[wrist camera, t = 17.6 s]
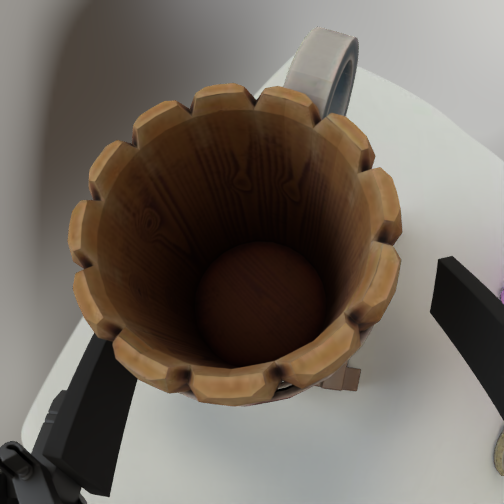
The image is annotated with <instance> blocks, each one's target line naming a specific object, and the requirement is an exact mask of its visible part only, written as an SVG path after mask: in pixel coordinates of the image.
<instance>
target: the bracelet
mask: <svg viewBox="0 0 504 504" xmlns="http://www.w3.org/2000/svg"><path fill="white" fill-rule="evenodd" d="M494 463H495V467H496V469H497V471H498V472H499V473H500V474H501V476H504V430H503V432H502V433H501V435H500V437H499V439H498V441H497V444H496V447H495V452H494Z"/></svg>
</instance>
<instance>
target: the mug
mask: <svg viewBox="0 0 504 504" xmlns="http://www.w3.org/2000/svg"><path fill="white" fill-rule="evenodd" d="M358 50H359V44H358V39H357V38H356V37H352V36H349V35H346V34H342V33H339V32H335V31H331V30H327V29H324V28H320V27H316V28H314V29H313V30H311V31H310V33H309V34H308V35H307V36H306V37H305V38H304V40H303V42H302V43H301V45H300V47H299V48H298V50H297V52H296V54H295V56H294V59H293V61H292V63H291V66H290V68H289V71H288V74H287V77H286V80H285V83H284V86H283V87H280V86H275V87H269V88H265V89H264V91H263V92H262V93H261V95H260V96H259V98H258V99H257V100H256V99H255V98H254V97H253V96H252V95H251V94H250V93H249V92H248V90H247V89H246V88H245V87H243V86H241V85H238V84H235V83H229V84H219V85H213V86H208V87H205V88H203V89H201V90H200V91H198V92H197V93H196V94H195V96H194V99H193V101H192V104H191V107H190V109H189V108H187V107H185V106H184V105H182V104H181V103H179V102H177V101H176V100H175V101H164V102H162V103H160V104H158V105H157V106H155V107H153V108H151V109H149V110H148V111H146V112H145V113H143V114H142V115H140V116H139V117H138V119H137V120H136V122H135V124H134V125H133V136H132V144H131V143H127V142H123V141H119V140H117V141H115V142H113V143H111V144H109V145H108V146H106V147H105V149H104V150H103V151H102V152H101V154H100V155H99V156H98V158H97V159H96V161H95V162H94V164H93V165H92V167H91V168H90V171H89V190H90V192H91V195H92V197H93V200H81V201H80V202H79V203H78V205H77V206H76V207H75V209H74V210H73V211H72V215H71V220H70V225H69V233H68V244H69V247H70V252H71V255H72V259H73V261H74V262H75V263H76V264H78V265H79V266H81V267H82V268H84V270H82V271H79V272H78V273H76V274H75V279H74V284H73V291H74V294H75V297H76V300H77V302H78V305H79V307H80V309H81V311H82V314H83V316H84V318H85V319H86V321H87V322H88V324H89V325H90V327H91V328H92V330H93V331H94V332H95V334H96V335H97V337H98V338H101V339H105V340H109V341H113V349H114V354H115V358H116V359H117V360H118V361H119V362H120V363H121V364H122V365H123V366H124V367H125V368H126V369H127V370H128V371H130V372H131V373H132V374H133V375H134V376H135V377H136V378H138V379H139V380H140V381H143V382H145V383H147V384H149V385H151V386H153V387H156V388H158V389H160V390H162V391H165V392H167V393H177V392H178V393H180V394H183V395H185V396H187V397H190V398H192V399H195V400H197V401H199V402H203V403H210V404H218V405H226V406H244V407H245V406H251V405H257V404H262V403H268V402H273V401H278V400H283V399H288V398H291V397H293V396H295V395H297V394H299V393H301V392H303V391H305V390H307V389H309V388H311V387H312V386H314V385H316V384H318V383H320V382H322V381H324V380H326V379H327V378H329V377H331V376H332V375H333V374H334V373H335V372H336V371H337V370H338V369H339V368H340V367H341V366H342V365H343V364H344V363H345V362H346V361H348V360H349V359H350V358H351V357H352V356H353V355H354V354H355V353H356V352H357V351H358V350H359V349H360V348H361V347H362V345H363V344H364V342H365V340H366V339H367V337H368V335H369V333H370V332H371V330H372V328H373V326H374V324H376V323H377V322H379V321H380V319H381V318H382V316H383V314H384V312H385V310H386V309H387V307H388V305H389V303H390V301H391V299H392V297H393V295H394V293H395V291H396V286H397V281H398V276H399V270H400V264H401V259H400V257H399V255H398V253H397V252H396V250H395V248H394V247H393V245H394V243H395V242H396V240H397V239H398V238H399V236H400V235H401V233H402V221H401V209H400V204H399V199H398V195H397V191H396V188H395V185H394V182H393V179H392V177H391V176H390V175H388V174H387V173H386V172H385V171H384V170H383V169H382V168H380V167H379V168H375V169H372V166H373V163H374V159H375V154H374V152H373V149H372V147H371V145H370V143H369V140H368V138H367V136H366V135H365V134H364V133H363V132H362V131H361V130H360V129H359V128H358V127H357V126H356V125H355V124H354V123H353V122H351V121H350V120H349V119H348V118H347V117H346V113H347V109H348V105H349V101H350V97H351V93H352V88H353V84H354V79H355V74H356V68H357V62H358V52H359V51H358ZM283 380H284V381H286V382H282V381H283ZM283 387H286V388H283ZM278 388H281V389H278Z"/></svg>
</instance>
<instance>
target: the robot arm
mask: <svg viewBox="0 0 504 504" xmlns="http://www.w3.org/2000/svg"><path fill="white" fill-rule="evenodd" d="M430 313H431V314H432V316H433V317H434V318H435V320H436V321H437V322H438V324H439V325H440V326H441V328H442V329H443V330H444V332H445V333H446V334H447V336H448V337H449V338H450V340H451V341H452V343H453V344H454V345H455V347H456V348H457V350H458V351H459V352H460V354H461V355H462V357H463V358H464V360H465V361H466V362H467V364H468V365H469V367H470V368H471V370H472V371H473V373H474V374H475V376H476V377H477V379H478V380H479V382H480V383H481V385H482V386H483V388H484V389H485V391H486V393H487V394H488V396H489V397H490V399H491V400H492V402H493V404H494V405H495V407H496V409H497V410H498V412H499V413H500V415H501V417H502V418H503V420H504V304H503V303H502V302H501V301H500V300H499V299H498V298H497V297H496V296H495V295H494V294H493V293H492V292H491V291H490V290H489V289H488V288H487V287H486V286H485V285H484V284H482V283H481V282H480V281H479V280H478V279H477V278H476V277H475V276H474V275H473V274H472V273H471V272H470V271H469V270H467V269H466V268H465V267H464V266H463V265H462V264H461V263H460V262H459V261H457V260H456V259H455V258H454V257H453V256H450V257H446V258H441V259H438V265H437V273H436V280H435V286H434V292H433V298H432V304H431V309H430ZM137 379H138V378H136V377H135V376H134V375H133V374H132V373H131V372H130V371H128V370H127V369H126V368H125V367H124V366H123V365H122V364H121V363H120V362H119V361H118V360H117V359H116V358H115V354H114V349H113V341H109V340H105V339H101V338H98V337H97V335H96V334H95V332H94V334H93V336H92V338H91V340H90V342H89V344H88V346H87V348H86V350H85V352H84V355H83V357H82V359H81V361H80V363H79V365H78V367H77V369H76V372H75V374H74V376H73V378H72V380H71V383H70V385H69V387H68V389H67V390H62V391H61V392H60V393H59V394H58V395H57V396H56V398H55V399H54V400H53V402H52V404H51V406H50V409H49V411H48V412H49V414H47V416H46V418H45V423H43V425H42V428H41V430H40V433H39V435H38V438H37V440H36V443H35V445H34V448H33V451H32V453H31V454H30V453H29V452H28V451H27V450H26V449H25V448H24V447H23V446H22V445H20V444H19V443H18V442H15V441H10V442H7V443H5V444H4V445H2V446H1V447H0V504H87V502H86V500H85V498H84V497H83V496H82V495H81V494H80V491H81V487H82V488H84V489H85V490H86V491H88V492H89V493H90V494H95V495H100V496H106V497H110V492H111V487H112V482H113V477H114V472H115V468H116V463H117V459H118V454H119V450H120V445H121V441H122V437H123V433H124V429H125V425H126V421H127V417H128V413H129V409H130V405H131V401H132V397H133V394H134V390H135V386H136V383H137Z"/></svg>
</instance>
